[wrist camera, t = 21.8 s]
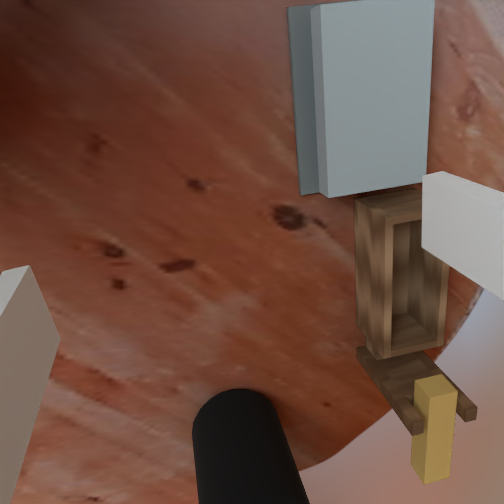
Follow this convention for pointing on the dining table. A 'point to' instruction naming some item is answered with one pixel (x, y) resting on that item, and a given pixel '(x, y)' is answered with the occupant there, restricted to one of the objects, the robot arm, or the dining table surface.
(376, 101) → the lid
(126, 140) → the dining table surface
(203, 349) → the dining table surface
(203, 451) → the coffee jar
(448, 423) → the yellow block
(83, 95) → the dining table surface
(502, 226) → the robot arm
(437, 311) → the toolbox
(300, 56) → the mat
